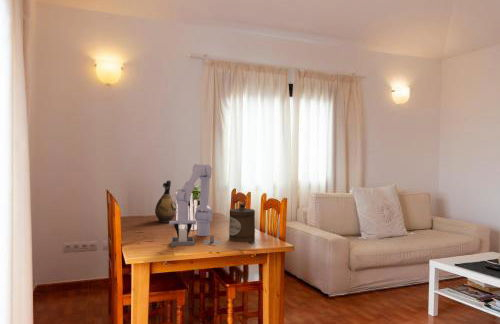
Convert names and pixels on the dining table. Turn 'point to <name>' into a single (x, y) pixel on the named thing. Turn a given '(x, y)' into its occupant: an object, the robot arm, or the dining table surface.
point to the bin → (181, 242)
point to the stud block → (211, 241)
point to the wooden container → (242, 224)
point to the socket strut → (182, 235)
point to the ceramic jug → (166, 205)
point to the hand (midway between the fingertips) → (182, 237)
